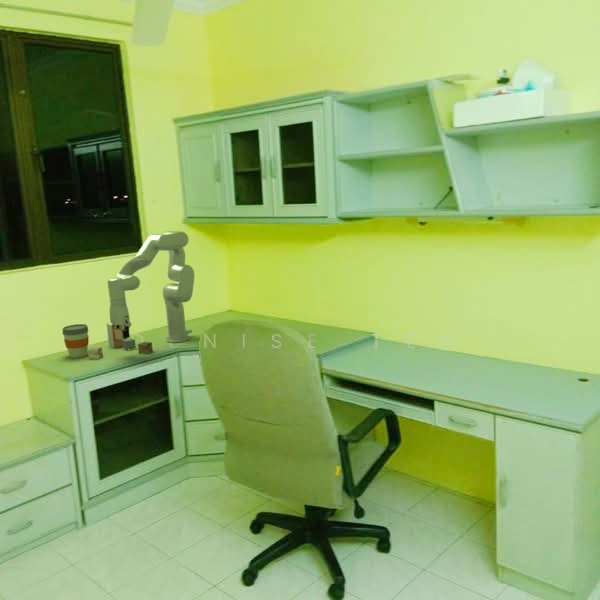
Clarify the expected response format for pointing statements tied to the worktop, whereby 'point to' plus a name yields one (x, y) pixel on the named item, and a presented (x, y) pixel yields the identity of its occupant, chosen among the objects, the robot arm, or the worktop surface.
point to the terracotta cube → (119, 333)
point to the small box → (113, 336)
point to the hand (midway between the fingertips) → (122, 336)
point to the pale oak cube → (95, 352)
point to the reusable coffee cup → (76, 339)
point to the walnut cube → (145, 347)
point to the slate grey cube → (128, 343)
